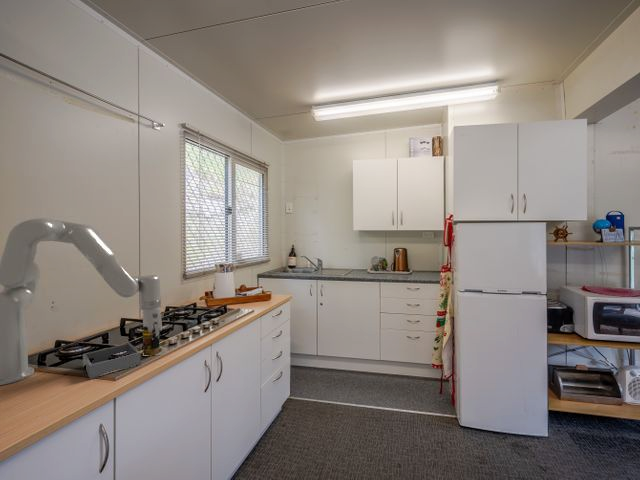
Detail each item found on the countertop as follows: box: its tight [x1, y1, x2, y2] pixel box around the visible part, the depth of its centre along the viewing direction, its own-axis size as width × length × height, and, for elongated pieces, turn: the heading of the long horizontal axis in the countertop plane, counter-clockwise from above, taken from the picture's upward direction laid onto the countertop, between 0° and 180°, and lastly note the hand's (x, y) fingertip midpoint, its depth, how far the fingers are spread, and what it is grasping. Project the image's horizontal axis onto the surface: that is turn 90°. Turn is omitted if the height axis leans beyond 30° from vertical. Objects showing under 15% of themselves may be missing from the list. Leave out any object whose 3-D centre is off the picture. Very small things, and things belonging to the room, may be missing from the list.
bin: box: [82, 342, 142, 380], centre depth 120 cm, size 16×15×5 cm
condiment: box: [142, 326, 163, 356], centre depth 133 cm, size 7×8×12 cm
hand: (152, 345), depth 132 cm, fingers closed on condiment, 6 cm apart
